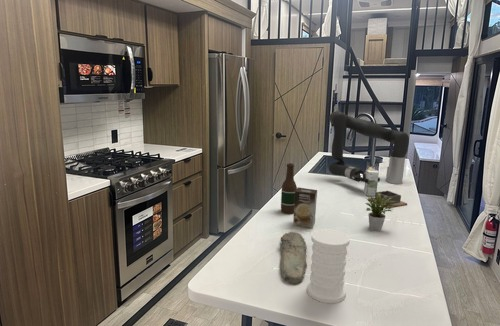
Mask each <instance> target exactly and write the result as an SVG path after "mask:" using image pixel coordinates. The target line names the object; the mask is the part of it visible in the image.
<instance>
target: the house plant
mask: <svg viewBox="0 0 500 326" xmlns="http://www.w3.org/2000/svg"><path fill="white" fill-rule="evenodd" d="M377 192H378V195H377V200H376V203H375V202H374V201H375V200H374V199H373V198H374V197H373V196H365V197H364V199H366V200H367V201H368V202H366V203H365V205H367V206H369V207H366V209H365V211H366V212H368V211H370V212H368V215H367V216H368V223H369V224H368V227H369V228H368V229H370V230H371V231H377V232H378V231H382V230H383V227H384V222H385V219H386V212H392V208H385V207H387V206H392V205H391V204H389V203H388V201H389V200H390V199H391V198H389V199H387V200H386V201H385V202H383V200H384V198H385V197H386V196H387V195H386V196H385V197H384V198H382V199H381V194H379V192H380V191H377ZM368 198H369V199H368ZM370 198H371V200H372V201H371V200H370ZM392 198H393V197H392ZM380 200H381V201H380ZM382 202H383V203H382ZM386 202H387V205H384V204H386ZM391 202H394V201H391ZM381 204H382V205H381ZM380 205H381V206H380ZM395 206H398V205H395Z"/></svg>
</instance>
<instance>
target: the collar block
mask: <svg viewBox="0 0 500 326" xmlns="http://www.w3.org/2000/svg"><path fill="white" fill-rule="evenodd" d="M378 192H379V194H381V199H382V198H384V197H385V196H386V195H387V196H386V197H385V198H384V200H383V202H385V201H386V200H387V199H389V198H391V199H390V200H389V201H388V203H389V204H391V205H392V206H387V207H385V208H391V209H394V208H400V207H405V206H408V203H407V202H404V201H402V200H401V198H402V195H401V194H399V193H396V192H393V191H391V190H384V191H383V190H381V191H377V192H376V194H375V196H374V197H372V198H373V199H374V200H375V201H374V202H375V203H376V200H377V195H378ZM392 197H393V198H392ZM369 198H370V200H371V197H369ZM369 198H368V197H367V199H369ZM371 201H372V200H371ZM380 201H381V200H380ZM391 201H394V202H391ZM383 202H382V203H383ZM381 205H382V204H381ZM381 205H380V206H381ZM384 205H387V202H386V204H384ZM395 205H398V206H395ZM385 208H384V209H385Z"/></svg>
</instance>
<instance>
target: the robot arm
mask: <svg viewBox="0 0 500 326" xmlns="http://www.w3.org/2000/svg"><path fill="white" fill-rule="evenodd" d="M328 119H329V122H330V124H331V125H332V126H333V139H332V143H331V158H332V159H333V160H336V162H331V163H330V164H329V165H328V171H329V173H330V174H332V175H335V176H343V177H346V178H348V179H349V180H352V181H353V182H354V181H355V182H358V183H359V182H361V183H362V182H363V183H364V184H365V183H368V179H366V178H365V177H366V172H364V170H363V169H360V168H358V167H354V166H351V165H347V164H346V163H345V160H344V136H345V130H346V129H349V130H351V131H353V132H355V133H357V134H359V135H363V136H364V137H365V136H366V137H369V138H373V139H378V140H379V139H380V140H383V141H386V142H388V143H390V144H392V145H393V149H392V150H391V151H389V152H390V153H389V161H388V166H387V167H386V177H385V181H386V182H387V183H389V184H393V185H401V184H403V178H404V171H405V165H406V164H405V163H406V155H407V153H408V151H409V150H408V149H409V145H410V137H409V134H408V133H406V132H404V131H401V130H395V129H391V128H386V127H384V126H382V125H380V124H378V123H375V122H372V121H370V120H366V119H362V118H357V117H353V116H351V115H350V116H349V115H347V114H345V113H344V112H342V111H338V110H335V111H333V112H331V113H330V115H329V117H328ZM380 181H381V178H380V176H378V182H380Z"/></svg>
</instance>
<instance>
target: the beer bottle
mask: <svg viewBox="0 0 500 326" xmlns="http://www.w3.org/2000/svg"><path fill="white" fill-rule="evenodd" d="M294 167H295V164H294V163H290V162H289V163H287V164H286V174H285V179H284V181H283V182H282V184H281V193H280V195H281V196H280V211H281V213H283V214H284V215H292V214H293V215H294V202H295V191H296V189H297V188H298V186H297V183H296V182H295V179H294V177H295V175H294V169H295V168H294Z"/></svg>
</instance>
